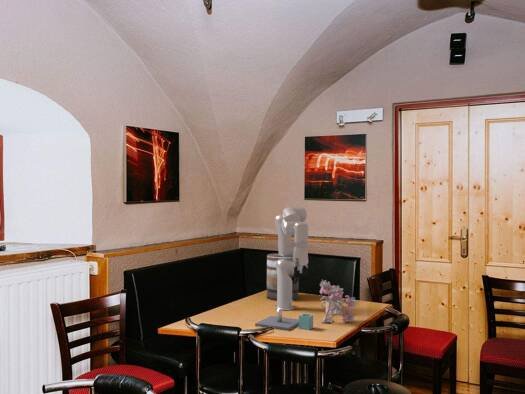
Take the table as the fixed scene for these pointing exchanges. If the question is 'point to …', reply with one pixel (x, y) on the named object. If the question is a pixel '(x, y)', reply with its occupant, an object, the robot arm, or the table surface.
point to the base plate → (278, 323)
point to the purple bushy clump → (328, 306)
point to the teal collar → (305, 321)
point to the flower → (336, 302)
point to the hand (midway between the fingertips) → (300, 276)
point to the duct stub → (279, 315)
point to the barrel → (273, 278)
